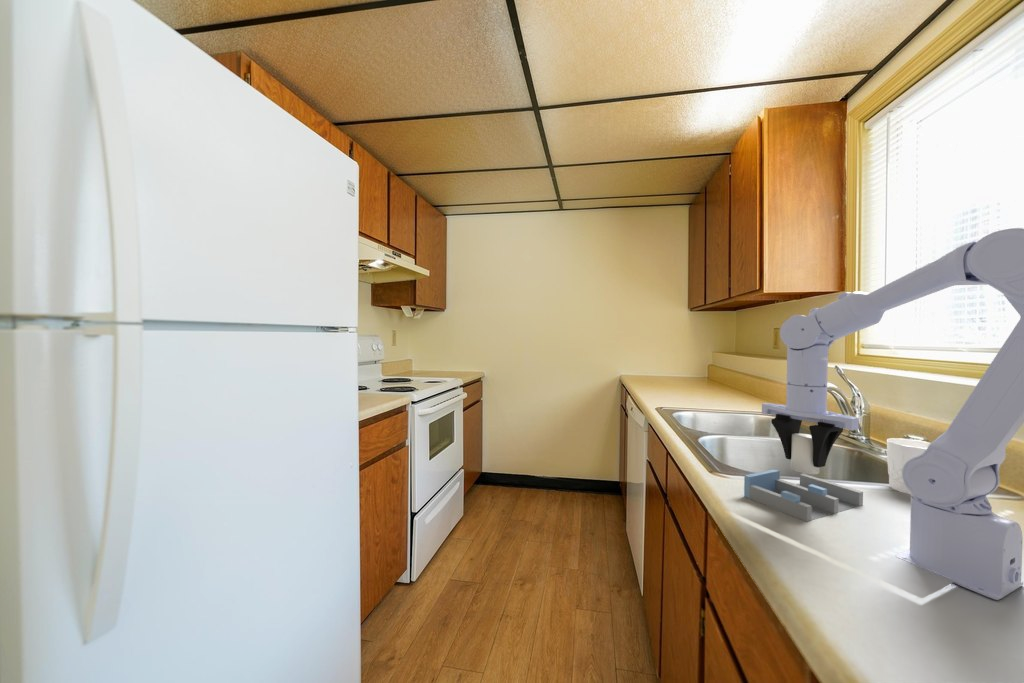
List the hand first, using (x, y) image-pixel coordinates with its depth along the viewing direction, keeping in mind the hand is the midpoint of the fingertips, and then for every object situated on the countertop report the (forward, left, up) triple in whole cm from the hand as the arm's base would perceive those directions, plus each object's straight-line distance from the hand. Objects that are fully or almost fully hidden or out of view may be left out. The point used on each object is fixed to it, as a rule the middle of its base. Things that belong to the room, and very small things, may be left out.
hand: (804, 462), depth 69 cm
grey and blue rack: (+2, -4, -9) cm, 10 cm away
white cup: (-3, -30, -9) cm, 31 cm away
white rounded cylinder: (0, 0, -1) cm, 1 cm away
